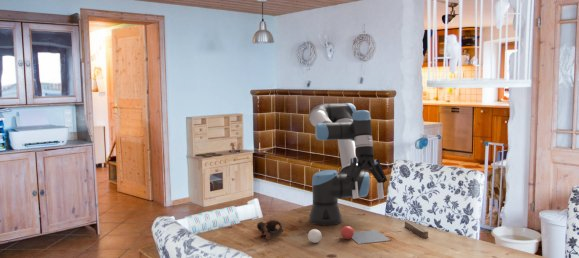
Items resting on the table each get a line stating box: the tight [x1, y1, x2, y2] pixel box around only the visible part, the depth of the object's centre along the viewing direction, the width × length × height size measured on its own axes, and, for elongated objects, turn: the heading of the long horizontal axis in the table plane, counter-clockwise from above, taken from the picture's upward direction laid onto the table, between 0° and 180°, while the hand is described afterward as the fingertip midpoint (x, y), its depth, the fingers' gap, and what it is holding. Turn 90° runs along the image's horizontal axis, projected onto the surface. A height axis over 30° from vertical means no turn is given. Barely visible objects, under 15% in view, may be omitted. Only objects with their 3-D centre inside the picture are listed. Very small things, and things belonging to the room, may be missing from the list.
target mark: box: [351, 229, 391, 245], centre depth 199 cm, size 14×14×1 cm
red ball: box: [340, 225, 355, 240], centre depth 196 cm, size 6×6×6 cm
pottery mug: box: [256, 219, 284, 241], centre depth 202 cm, size 12×10×8 cm
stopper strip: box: [404, 220, 429, 239], centre depth 203 cm, size 2×16×2 cm, turn 13°
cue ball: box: [307, 228, 322, 244], centre depth 193 cm, size 6×6×6 cm
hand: (368, 198), depth 192 cm, fingers open, 13 cm apart
